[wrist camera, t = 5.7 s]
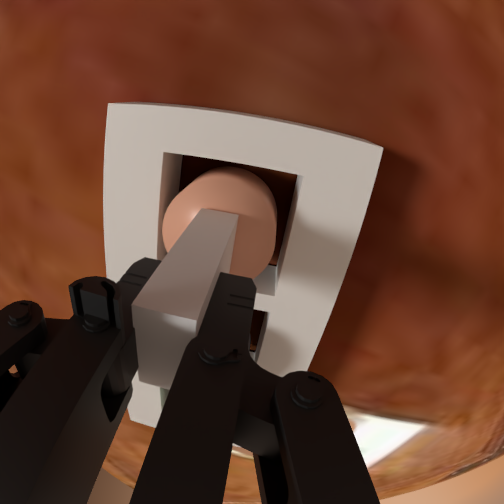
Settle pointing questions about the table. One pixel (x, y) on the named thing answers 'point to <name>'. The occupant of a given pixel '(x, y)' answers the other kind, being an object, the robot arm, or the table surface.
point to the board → (297, 228)
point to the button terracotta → (231, 201)
